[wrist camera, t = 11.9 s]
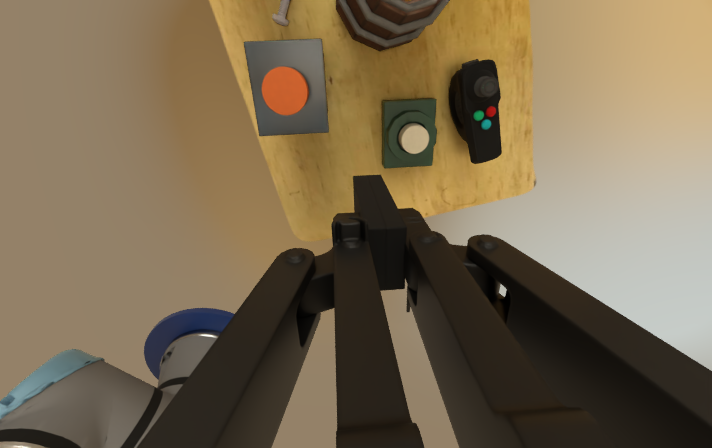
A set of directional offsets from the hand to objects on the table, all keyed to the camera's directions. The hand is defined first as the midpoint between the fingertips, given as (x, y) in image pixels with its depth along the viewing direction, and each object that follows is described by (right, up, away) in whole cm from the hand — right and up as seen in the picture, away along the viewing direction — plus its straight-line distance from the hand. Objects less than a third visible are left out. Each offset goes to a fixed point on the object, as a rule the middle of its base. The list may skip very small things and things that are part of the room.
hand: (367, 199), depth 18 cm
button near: (-6, +10, +9) cm, 15 cm away
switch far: (+7, +12, +28) cm, 31 cm away
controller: (+14, +15, +28) cm, 34 cm away
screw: (-9, +25, +21) cm, 34 cm away
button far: (+7, +10, +25) cm, 28 cm away
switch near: (-8, +17, +25) cm, 31 cm away
